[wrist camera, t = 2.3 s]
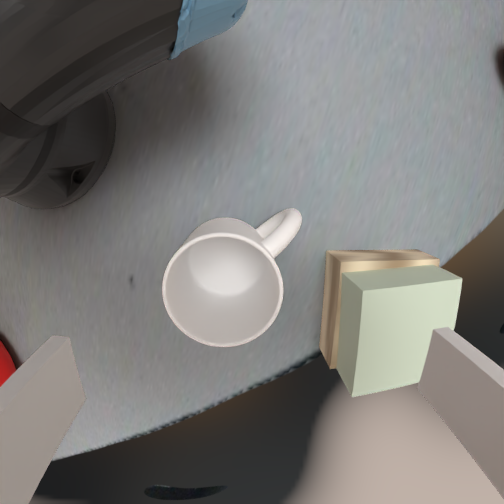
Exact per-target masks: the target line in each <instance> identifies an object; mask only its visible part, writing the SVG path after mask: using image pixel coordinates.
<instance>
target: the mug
mask: <svg viewBox="0 0 504 504" xmlns="http://www.w3.org/2000/svg"><path fill="white" fill-rule="evenodd" d="M301 224H302V216H301V213H300V212H299V211H298V210H296V209H293V208H289V209H285V210H283V211H281V212H279V213H277V214H276V215H274V216H273V217H271V218H270V219H268V220H267V221H266V222H264V223H263V224H262V225H261V226H259V227H258V228H257V229H254V228H253V227H252V226H250V225H249V224H247V223H245V222H243V221H241V220H238V219H235V218H227V217H223V218H216V219H212V220H209V221H207V222H205V223H203V224H201V225H200V226H199V227H197V228H196V229H195V230H194V231H193V232H192V233H191V234H190V235H189V237H188V238H187V239H186V240H185V242H184V243H183V244H182V245H181V247H180V248H179V249H178V250H177V252H176V253H175V254H174V255H173V257H172V258H171V260H170V261H169V263H168V265H167V267H166V270H165V272H164V277H163V282H162V296H163V301H164V305H165V308H166V310H167V312H168V314H169V316H170V318H171V319H172V321H173V323H174V324H175V325H176V326H177V327H178V328H179V329H180V330H181V331H182V332H183V333H184V334H186V335H187V336H188V337H190V338H192V339H193V340H195V341H197V342H200V343H202V344H206V345H209V346H215V347H233V346H238V345H242V344H245V343H247V342H249V341H252V340H254V339H255V338H257V337H258V336H260V335H261V334H262V333H264V332H265V331H266V330H267V329H268V328H269V327H270V326H271V324H272V323H273V322H274V320H275V319H276V317H277V315H278V313H279V310H280V308H281V305H282V300H283V281H282V276H281V273H280V270H279V268H278V266H277V264H276V262H275V260H274V258H275V257H276V256H277V255H278V254H279V253H281V252H282V251H283V250H284V249H285V247H286V246H287V245H288V244H289V243H290V242H291V241H292V240H293V238H294V237H295V236H296V234H297V233H298V231H299V229H300V226H301Z"/></svg>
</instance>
